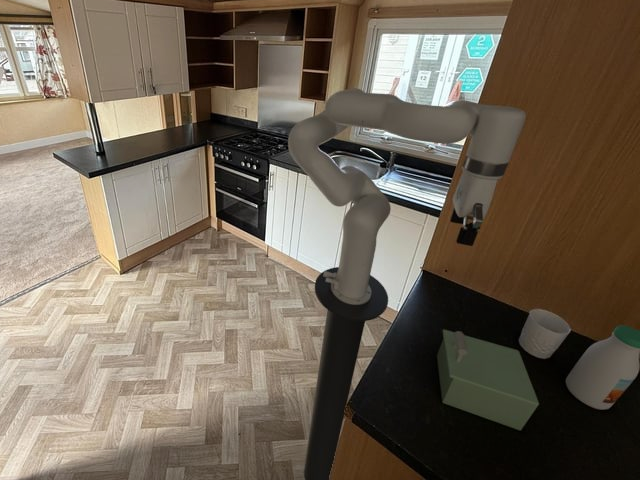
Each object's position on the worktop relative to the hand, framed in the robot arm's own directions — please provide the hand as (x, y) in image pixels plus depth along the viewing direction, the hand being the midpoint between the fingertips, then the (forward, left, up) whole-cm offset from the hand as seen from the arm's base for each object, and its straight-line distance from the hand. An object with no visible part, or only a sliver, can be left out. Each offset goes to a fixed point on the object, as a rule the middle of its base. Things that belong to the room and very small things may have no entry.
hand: (460, 232), depth 74 cm
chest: (+9, -15, -32) cm, 37 cm away
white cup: (+26, +4, -32) cm, 42 cm away
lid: (+9, -15, -23) cm, 29 cm away
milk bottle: (+33, -6, -32) cm, 47 cm away
